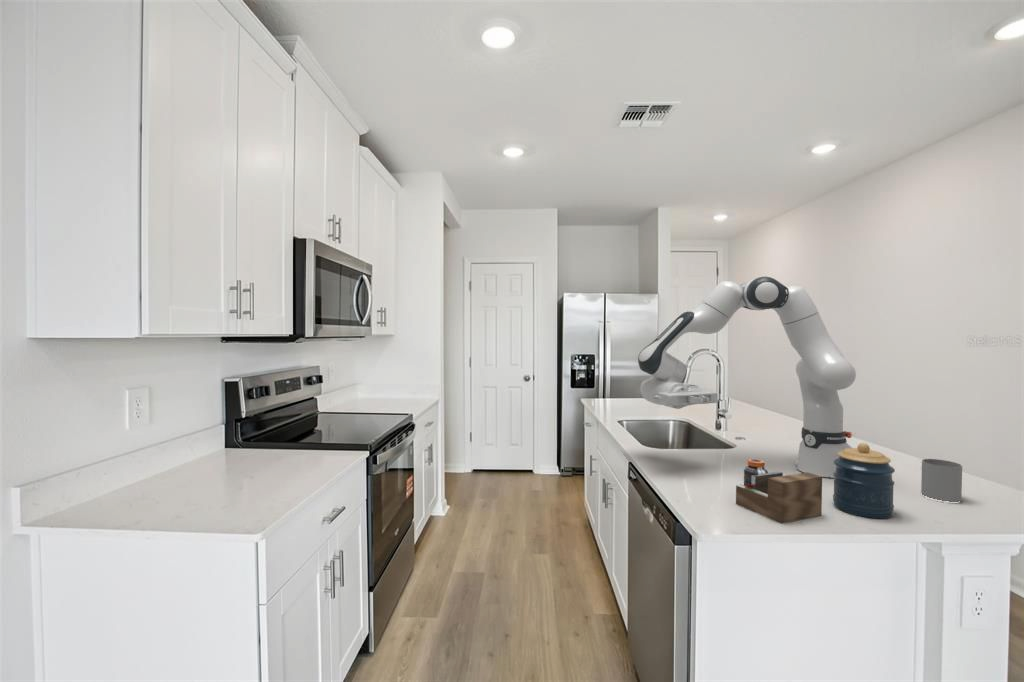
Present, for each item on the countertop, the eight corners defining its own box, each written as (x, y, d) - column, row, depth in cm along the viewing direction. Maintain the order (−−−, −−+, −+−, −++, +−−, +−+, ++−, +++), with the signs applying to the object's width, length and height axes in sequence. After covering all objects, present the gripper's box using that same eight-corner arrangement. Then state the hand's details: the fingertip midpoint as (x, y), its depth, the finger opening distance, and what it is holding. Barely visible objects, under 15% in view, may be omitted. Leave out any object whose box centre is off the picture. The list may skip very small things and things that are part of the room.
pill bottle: (770, 505, 128) (771, 464, 128) (746, 503, 129) (747, 462, 129) (763, 497, 134) (764, 458, 134) (741, 496, 135) (741, 456, 135)
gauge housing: (773, 497, 134) (774, 462, 134) (821, 515, 121) (822, 476, 121) (735, 503, 129) (736, 467, 129) (781, 523, 116) (782, 482, 116)
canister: (897, 523, 116) (899, 452, 116) (833, 512, 123) (835, 445, 123) (889, 506, 127) (891, 441, 127) (831, 497, 134) (832, 435, 134)
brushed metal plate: (778, 500, 131) (778, 471, 130) (782, 501, 130) (782, 472, 129) (744, 506, 126) (744, 476, 126) (747, 507, 125) (748, 477, 125)
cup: (951, 494, 137) (952, 460, 136) (968, 504, 129) (969, 468, 129) (915, 491, 139) (916, 457, 139) (929, 501, 132) (930, 465, 131)
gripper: (650, 387, 158) (678, 392, 145) (699, 384, 166) (730, 389, 153) (650, 406, 158) (678, 413, 145) (698, 402, 166) (730, 409, 153)
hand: (705, 401), depth 149 cm, fingers closed
